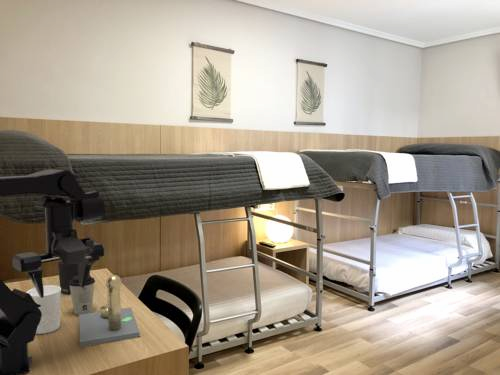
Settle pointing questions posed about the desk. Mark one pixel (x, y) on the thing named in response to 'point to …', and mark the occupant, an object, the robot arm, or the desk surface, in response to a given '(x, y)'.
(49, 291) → the white cup
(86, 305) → the coffee cup
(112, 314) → the brass crank handle
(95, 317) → the gray board
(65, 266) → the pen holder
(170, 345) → the desk surface
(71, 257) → the robot arm
